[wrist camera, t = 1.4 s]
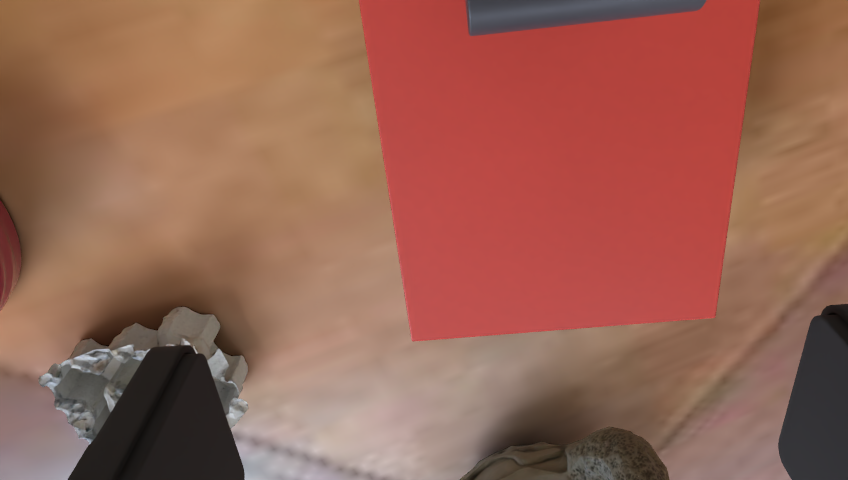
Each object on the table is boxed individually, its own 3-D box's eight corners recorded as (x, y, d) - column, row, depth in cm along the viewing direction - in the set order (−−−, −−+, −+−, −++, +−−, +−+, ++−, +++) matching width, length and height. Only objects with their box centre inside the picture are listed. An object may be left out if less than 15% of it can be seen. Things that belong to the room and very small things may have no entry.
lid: (347, -92, 19) (320, -83, 15) (769, -146, 19) (878, -155, 14) (412, 330, 27) (407, 420, 23) (708, 306, 27) (765, 396, 22)
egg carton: (209, 294, 36) (185, 338, 33) (266, 387, 40) (250, 436, 36) (53, 340, 38) (14, 387, 35) (121, 425, 42) (92, 476, 38)
